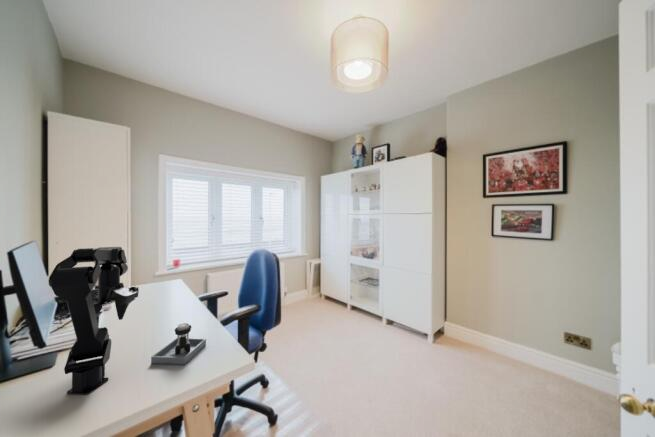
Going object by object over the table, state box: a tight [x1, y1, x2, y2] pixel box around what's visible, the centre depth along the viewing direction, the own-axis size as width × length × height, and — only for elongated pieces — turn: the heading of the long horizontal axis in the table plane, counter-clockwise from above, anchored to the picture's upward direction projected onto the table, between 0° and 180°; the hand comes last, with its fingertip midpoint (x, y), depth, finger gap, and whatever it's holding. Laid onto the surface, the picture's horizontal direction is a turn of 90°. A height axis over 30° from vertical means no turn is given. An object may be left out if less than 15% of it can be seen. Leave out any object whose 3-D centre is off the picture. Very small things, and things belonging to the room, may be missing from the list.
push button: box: [170, 323, 192, 355], centre depth 88 cm, size 7×5×10 cm
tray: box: [150, 337, 207, 366], centre depth 88 cm, size 13×12×2 cm
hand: (108, 324), depth 85 cm, fingers open, 9 cm apart
